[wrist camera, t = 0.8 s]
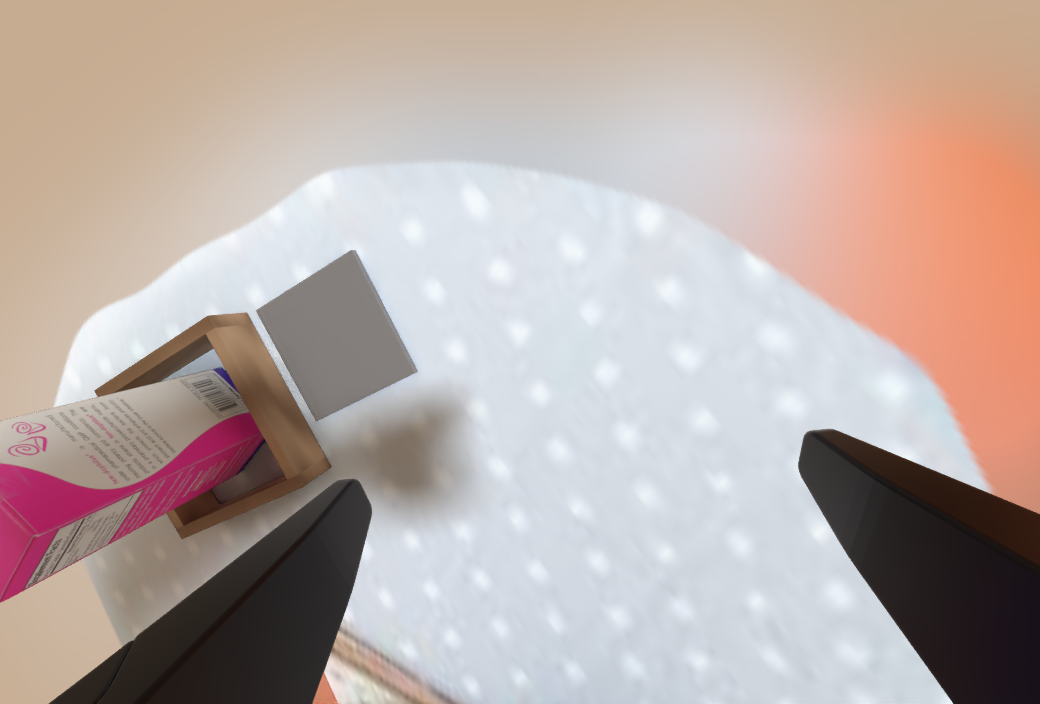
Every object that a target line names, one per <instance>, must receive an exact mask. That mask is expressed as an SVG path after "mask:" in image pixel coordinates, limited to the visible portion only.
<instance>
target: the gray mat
mask: <svg viewBox="0 0 1040 704" xmlns="http://www.w3.org/2000/svg"><path fill="white" fill-rule="evenodd" d="M256 311H257V313H258V315H259V317H260V318H261V320H262V322H263V324H264V326H265V328H266V330H267V331H268V333H269V335H270V337H271V339H272V341H273V342H274V344H275V346H276V348H277V350H278V352H279V353H280V355H281V357H282V359H283V361H284V363H285V364H286V366H287V368H288V370H289V372H290V374H291V375H292V377H293V379H294V381H295V383H296V385H297V386H298V388H299V390H300V392H301V394H302V396H303V397H304V399H305V401H306V403H307V405H308V407H309V408H310V410H311V412H312V414H313V416H314V418H315V420H316V421H318V420H320V419H322V418H324V417H326V416H328V415H330V414H332V413H334V412H336V411H338V410H340V409H342V408H344V407H346V406H349V405H351V404H353V403H355V402H357V401H359V400H361V399H363V398H365V397H367V396H369V395H371V394H373V393H375V392H377V391H379V390H381V389H383V388H385V387H387V386H389V385H391V384H393V383H395V382H397V381H400V380H402V379H404V378H406V377H408V376H410V375H412V374H414V373H416V372H418V371H417V369H416V367H415V365H414V363H413V361H412V359H411V357H410V355H409V353H408V351H407V350H406V348H405V346H404V344H403V342H402V340H401V338H400V336H399V334H398V332H397V330H396V328H395V326H394V324H393V322H392V320H391V318H390V317H389V315H388V313H387V311H386V309H385V307H384V305H383V303H382V301H381V299H380V297H379V295H378V293H377V291H376V289H375V287H374V286H373V284H372V282H371V280H370V278H369V276H368V274H367V272H366V270H365V268H364V266H363V264H362V262H361V260H360V258H359V256H358V254H357V253H356V251H353V250H351V251H349V252H348V253H346V254H344V255H343V256H341V257H340V258H338V259H337V260H335V261H333V262H332V263H330V264H329V265H327V266H326V267H324V268H322V269H321V270H319V271H318V272H316V273H314V274H313V275H311V276H310V277H308V278H307V279H305V280H303V281H302V282H300V283H299V284H297V285H296V286H294V287H292V288H291V289H289V290H288V291H286V292H284V293H283V294H281V295H280V296H278V297H277V298H275V299H273V300H272V301H270V302H269V303H267V304H266V305H264V306H262V307H261V308H259V309H258V310H256Z"/></svg>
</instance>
